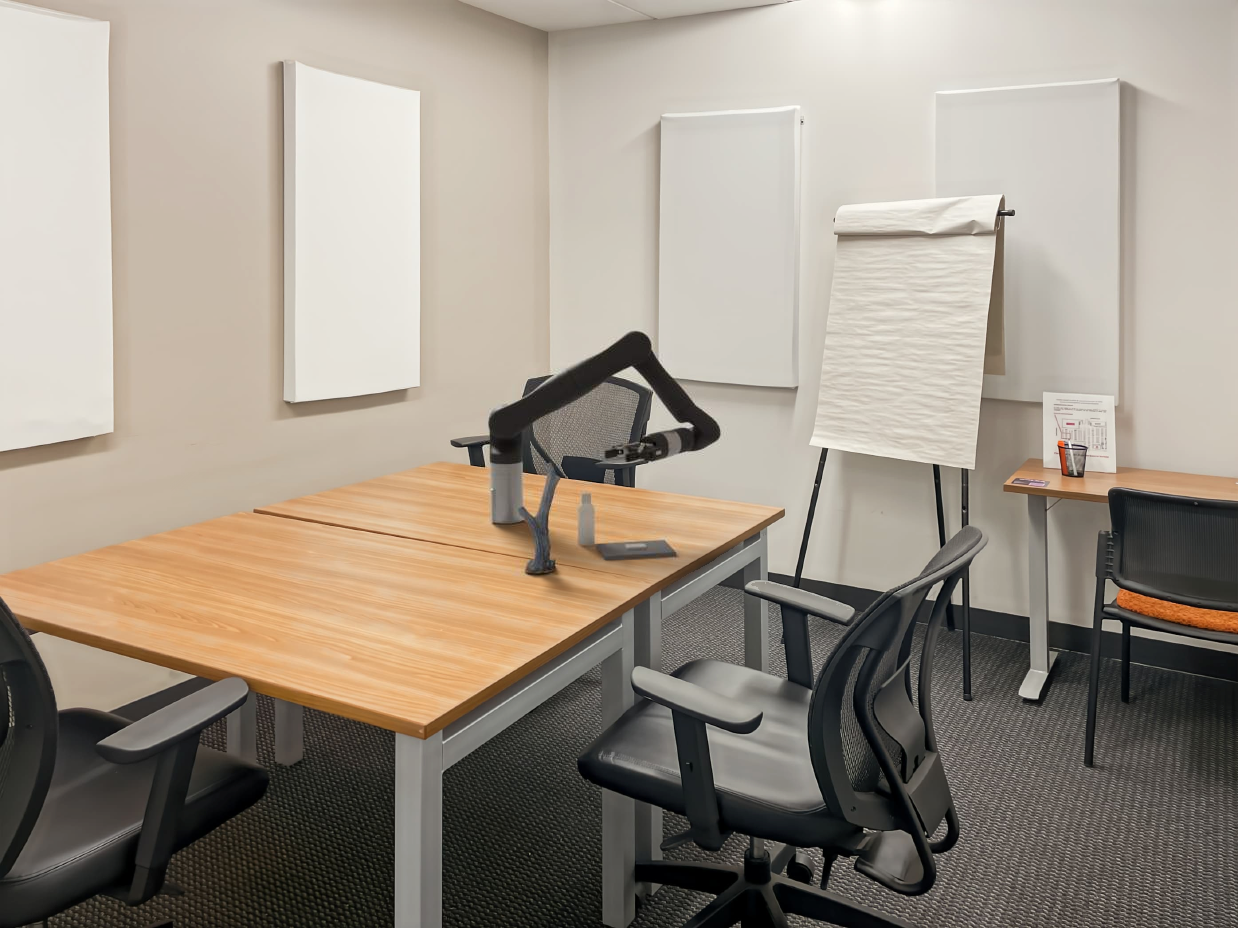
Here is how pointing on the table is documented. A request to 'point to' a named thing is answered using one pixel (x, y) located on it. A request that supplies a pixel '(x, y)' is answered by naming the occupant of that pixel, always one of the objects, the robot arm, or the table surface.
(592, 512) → the white tabbed cylinder
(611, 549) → the dock mat
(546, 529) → the bare tree trunk
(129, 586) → the table surface
